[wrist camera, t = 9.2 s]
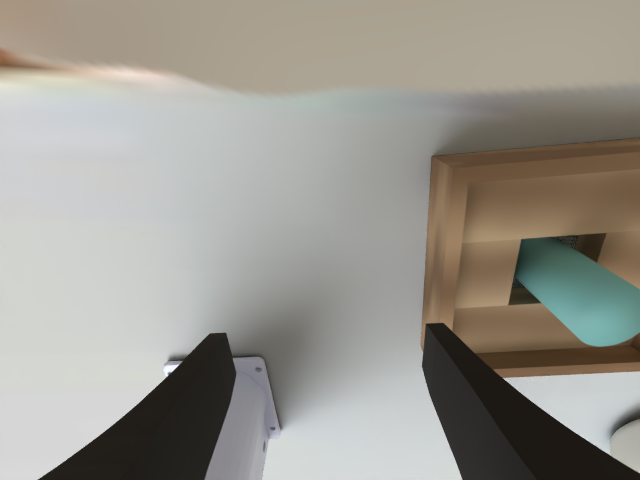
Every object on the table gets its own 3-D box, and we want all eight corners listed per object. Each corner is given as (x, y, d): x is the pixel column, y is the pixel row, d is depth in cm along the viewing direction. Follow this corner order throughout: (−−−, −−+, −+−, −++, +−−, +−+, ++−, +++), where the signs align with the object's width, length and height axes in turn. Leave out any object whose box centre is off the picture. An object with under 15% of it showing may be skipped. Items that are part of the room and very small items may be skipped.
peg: (555, 279, 20) (637, 345, 15) (503, 281, 21) (566, 347, 15) (569, 233, 19) (666, 287, 14) (513, 235, 19) (587, 290, 14)
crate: (616, 334, 22) (659, 370, 19) (420, 345, 23) (434, 380, 20) (696, 132, 16) (776, 139, 14) (431, 156, 17) (452, 168, 14)
